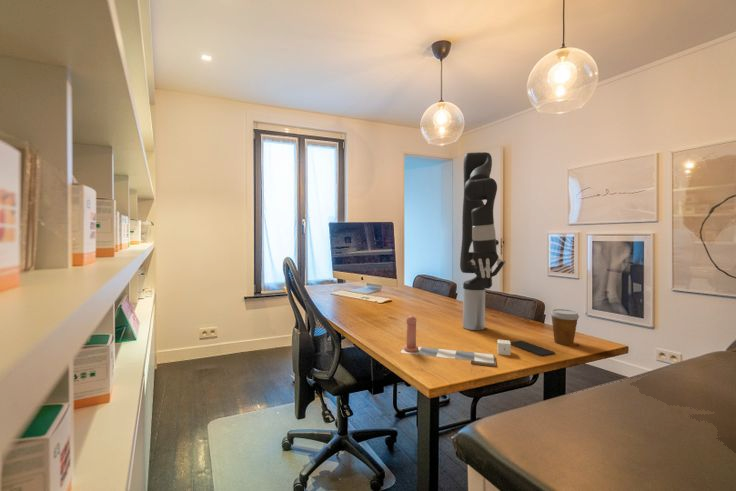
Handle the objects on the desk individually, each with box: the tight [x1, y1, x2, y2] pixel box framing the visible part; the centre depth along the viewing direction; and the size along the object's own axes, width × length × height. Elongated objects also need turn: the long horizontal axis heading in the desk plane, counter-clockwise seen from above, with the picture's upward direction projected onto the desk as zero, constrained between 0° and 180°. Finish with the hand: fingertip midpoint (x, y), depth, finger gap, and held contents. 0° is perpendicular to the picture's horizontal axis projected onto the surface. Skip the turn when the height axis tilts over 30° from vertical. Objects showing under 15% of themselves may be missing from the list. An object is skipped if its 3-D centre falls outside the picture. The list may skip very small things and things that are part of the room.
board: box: [400, 346, 497, 368], centre depth 117 cm, size 9×31×1 cm, turn 73°
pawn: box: [403, 315, 419, 352], centre depth 120 cm, size 5×5×12 cm
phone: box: [510, 340, 556, 357], centre depth 125 cm, size 7×1×15 cm
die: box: [496, 339, 512, 356], centre depth 120 cm, size 4×4×4 cm
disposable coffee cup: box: [549, 308, 580, 346], centre depth 132 cm, size 10×10×12 cm
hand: (487, 288), depth 119 cm, fingers closed
